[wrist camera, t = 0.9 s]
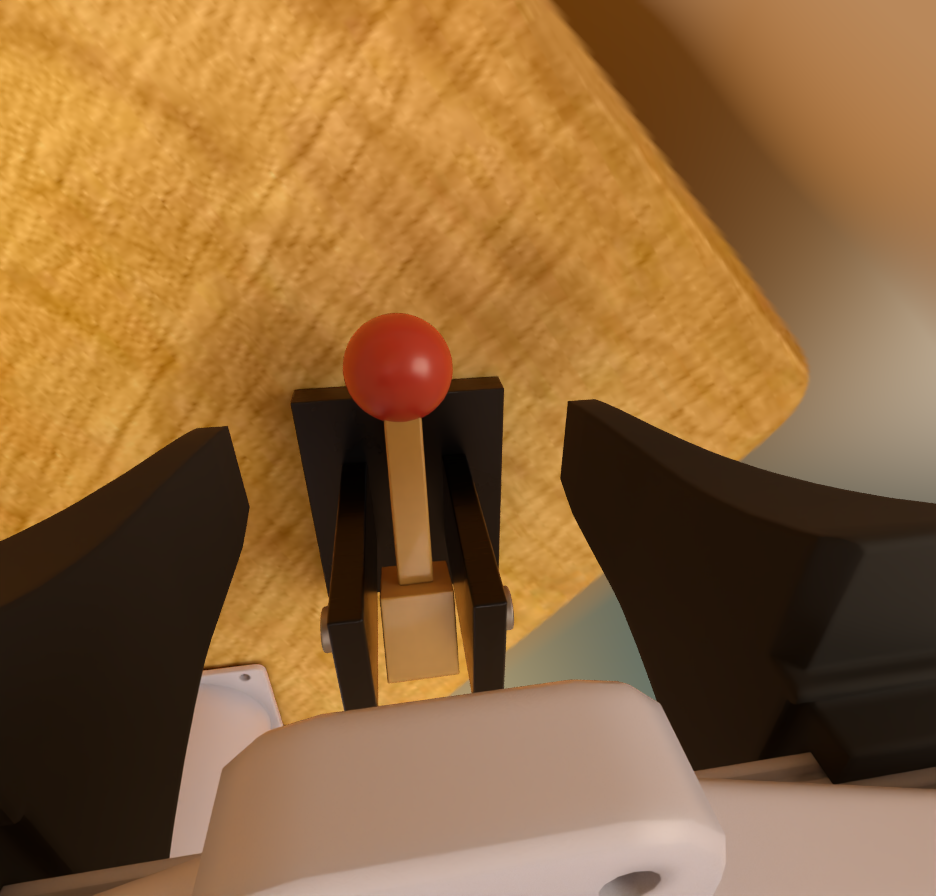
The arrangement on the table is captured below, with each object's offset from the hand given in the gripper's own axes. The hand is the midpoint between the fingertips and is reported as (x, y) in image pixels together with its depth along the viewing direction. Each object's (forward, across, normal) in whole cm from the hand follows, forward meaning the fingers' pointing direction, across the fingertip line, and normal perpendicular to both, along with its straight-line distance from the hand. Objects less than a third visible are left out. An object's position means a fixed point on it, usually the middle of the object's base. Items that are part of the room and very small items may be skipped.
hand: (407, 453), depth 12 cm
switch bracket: (+10, 0, +8) cm, 12 cm away
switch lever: (+5, 0, +4) cm, 7 cm away
